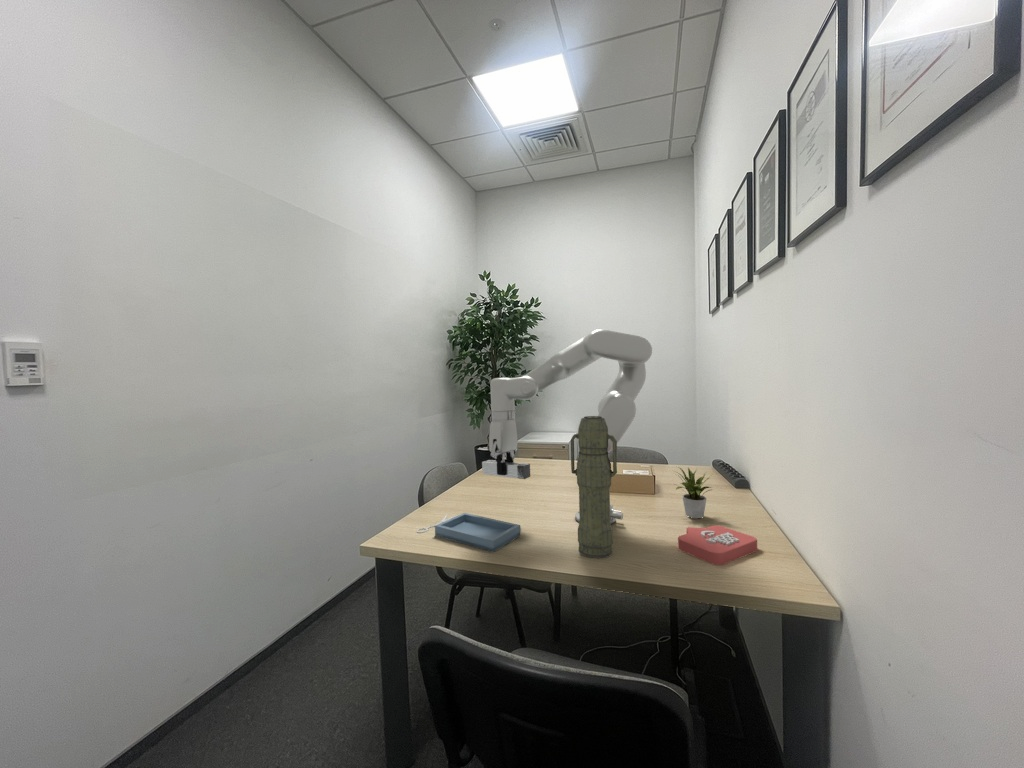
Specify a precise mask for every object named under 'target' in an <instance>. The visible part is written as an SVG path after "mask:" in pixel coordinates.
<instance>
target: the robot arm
mask: <svg viewBox="0 0 1024 768" xmlns="http://www.w3.org/2000/svg"><path fill="white" fill-rule="evenodd" d="M652 354H653V347H652V344H651V342H650V341H649V340H648V339H646V338H645V337H642V336H639V335H635V334H629V333H624V332H618V331H615V330H609V329H602V328H601V329H600V328H599V329H595V330H593V331H591V332H589V333H588V334H586V335H585V336H583V337H581V338H579V339H578V340H576V341H575V342H573V343H572V344H570V345H569V346H567V347H565V348H564V349H561V350H560V351H559V352H557V353H556V354H554V355H552V356H551V357H550V358H549V359H547V360H546V361H545V362H544V363H542V364H540V365H539V366H537V367H536V368H534V369H533V370H531V371H529V372H527V373H526V374H524V375H522V376H518V377H512V378H511V377H495V378H492V379H491V380H490V383H489V384H490V406H491V410H490V411H491V421H490V424H489V435H488V436H489V438H488V446H489V448H488V450H489V452H490V457H492V458H493V460H495V462H497V474H498V475H506V463H505V462H514V460H515V455H516V452H517V450H518V449H519V448H518V445H519V444H518V430H517V423H516V407H515V404H516V403H515V400H523V401H525V400H526V401H529V400H532V399H533V398H535V397H536V395H537V394H538V393H540V392H541V391H543V390H545V389H546V388H548V387H550V386H551V385H553V384H555V383H558V382H559V381H562V380H565V379H568V378H570V377H571V376H573V375H575V374H576V373H578V372H580V371H581V370H583V369H584V368H586V367H588V366H589V365H591V364H593V363H594V362H596V361H598V360H599V359H601V358H603V359H607V360H612V361H616V362H618V366H619V367H618V369H619V370H618V373H617V376H615V377H616V378H615V379H614V380H613V383H612V384H611V386H610V387H609V388H608V389H607V391H606V393H605V394H604V395H603V396H602V398H601V399H600V400H599V403H598V405H597V410H598V414H597V416H600V417H602V418H604V419H605V421H606V424H607V428H608V434H609V435H612V436H614V438H615V439H616V440H617V444H618V443H619V442H620V440H621V439H622V437H623V436H624V435H625V433H626V432H627V430H628V429H629V427H630V426H631V424H632V423H633V421H634V419H635V417H636V414H637V413H636V412H637V407H636V403H635V400H636V398H637V397H638V395H639V393H640V392H641V390H642V389H643V386H645V385H644V384H645V382H646V376H647V375H646V374H647V371H646V364H645V363H647V362H648V361H649V360H650V358H651V356H652ZM576 440H577V450H578V453H579V452H580V449H579V439H577V438H576ZM611 451H612V452H613V442H612V441H611V439H608V447H607V452H608V457H609V458H610V454H609V453H610V452H611ZM504 461H505V462H504ZM574 517H575V518H574V519H575V520H576V521H577V522H578V523H580V516H579V511H577V512H575V514H574ZM623 519H624V514H623V512H622V511H621V510H615V509H614V505H613V504H610V524H613V523H615V522H616V520H623Z"/></svg>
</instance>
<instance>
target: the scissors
mask: <svg viewBox="0 0 1024 768" xmlns="http://www.w3.org/2000/svg"><path fill="white" fill-rule="evenodd" d="M458 515H459V513H456V514H455V515H453V516H451V517H449V518H447V516H448V513H446V514H445V515H444V517H443V518H442V519H441V521H439V522H438V523H435V524H434V525H430V526H428V527H421V528H418V529H417V530H416V533H417V534H422V533H423V534H424V533H426V532H429V529H431V528H433V527H434V528H435V525H438V524H440V523H442V522H445V521H447V520H449V519H451V518H454V517H456V516H458ZM421 530H422V531H421Z"/></svg>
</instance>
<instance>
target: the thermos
mask: <svg viewBox="0 0 1024 768" xmlns="http://www.w3.org/2000/svg"><path fill="white" fill-rule="evenodd" d="M575 439H576V440H577V439H579V449H580V452H578V458H577V462H576V466H575ZM608 439H611V441H612V442H613V450H612V462H611V460H610V456H609V457H608V454H609V453H608V452H607V447H608ZM617 456H618V443H617V440H616V439H615V438H614V436H612V435H609V434H608V428H607V424H606V421H605V419H604V418H602V417H600V416H598V415H589V416H588V415H587V416H583V417H581V418H580V421H579V425H578V429H577V433H574V434H573V435H572V437H571V439H570V467H571V469H570V470H571V474H574V475H575V476H576V483H577V486H578V502H579V503H578V504H579V505H578V509H579V511H578V512H579V516H580V522H578V527H577V542H578V552H579V554H580V555H582V556H584V557H587V558H591V559H605V558H608V557H610V556H612V555H613V544H614V540H613V539H614V536H613V528H612V525H611V524H610V505H611V498H610V497H611V491H610V490H611V486H612V478H613V477H614V476H615V475H617V474H618V468H617V464H618V461H617V460H618V457H617ZM575 467H576V468H575Z"/></svg>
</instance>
